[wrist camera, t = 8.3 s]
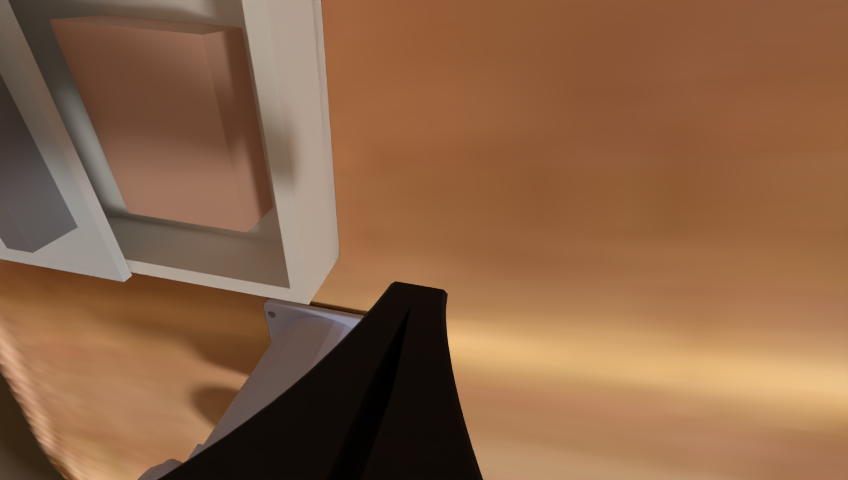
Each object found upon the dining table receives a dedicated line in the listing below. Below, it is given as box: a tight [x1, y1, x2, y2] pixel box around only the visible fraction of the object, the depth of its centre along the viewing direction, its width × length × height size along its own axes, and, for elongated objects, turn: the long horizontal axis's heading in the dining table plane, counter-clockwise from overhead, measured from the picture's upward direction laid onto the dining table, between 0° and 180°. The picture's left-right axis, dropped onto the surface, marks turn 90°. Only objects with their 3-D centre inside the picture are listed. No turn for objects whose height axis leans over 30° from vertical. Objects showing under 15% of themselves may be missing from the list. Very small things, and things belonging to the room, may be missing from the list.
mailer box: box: [8, 0, 339, 305], centre depth 17 cm, size 14×18×4 cm
